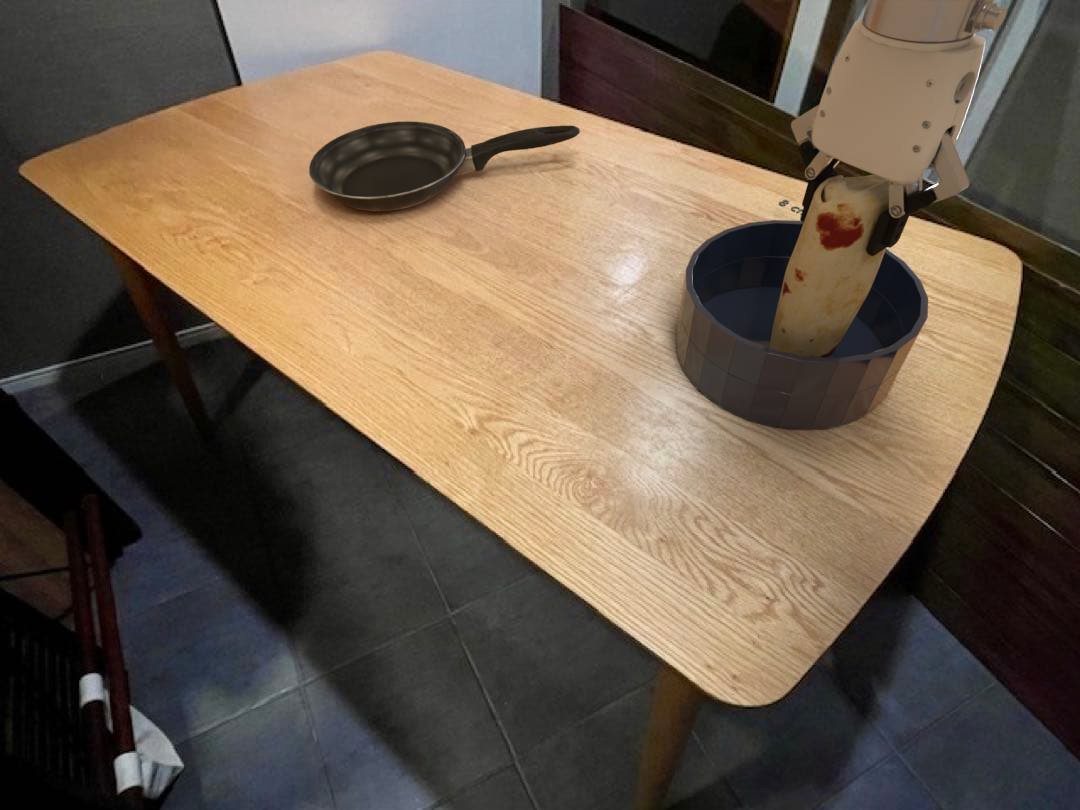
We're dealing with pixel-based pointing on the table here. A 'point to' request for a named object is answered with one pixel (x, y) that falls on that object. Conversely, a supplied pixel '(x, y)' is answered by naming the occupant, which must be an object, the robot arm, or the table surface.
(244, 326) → the table surface
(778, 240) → the pot
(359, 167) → the frying pan
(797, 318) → the food model
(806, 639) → the table surface
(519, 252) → the table surface
